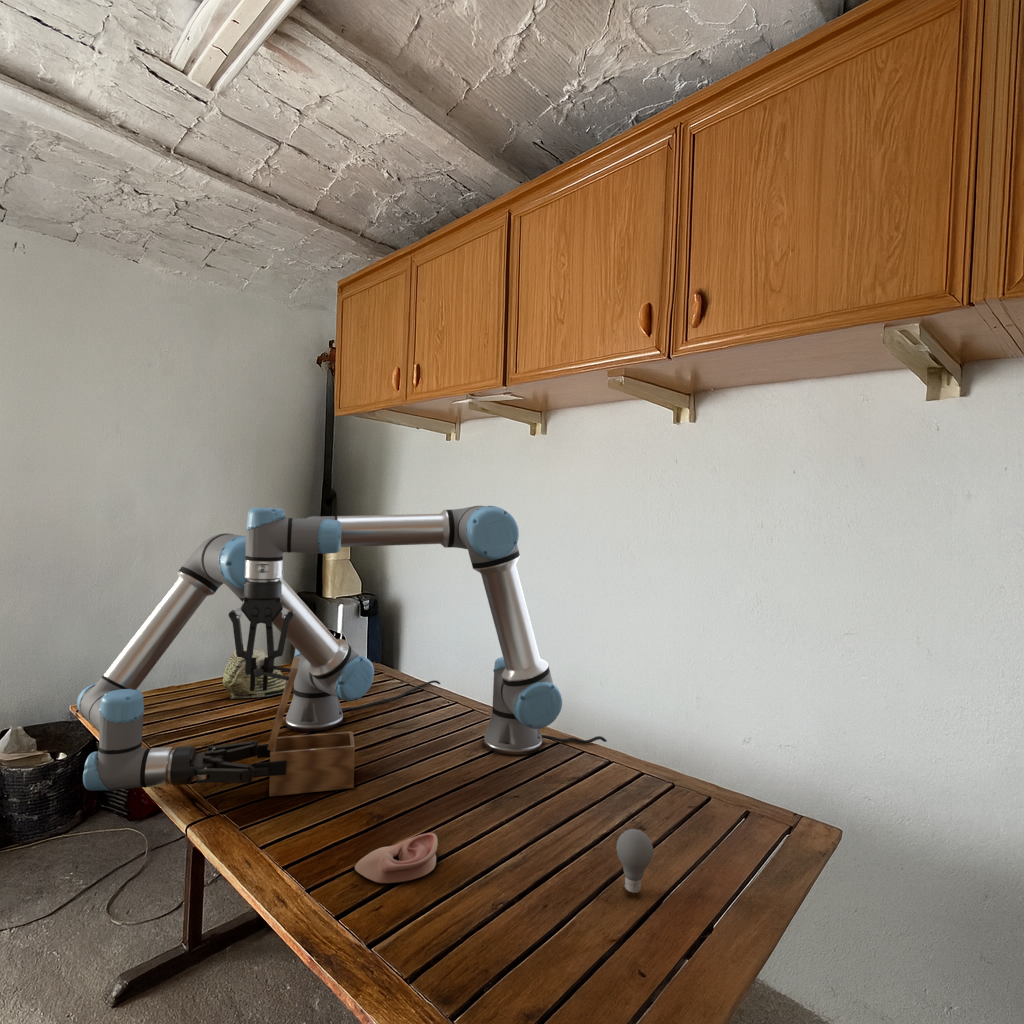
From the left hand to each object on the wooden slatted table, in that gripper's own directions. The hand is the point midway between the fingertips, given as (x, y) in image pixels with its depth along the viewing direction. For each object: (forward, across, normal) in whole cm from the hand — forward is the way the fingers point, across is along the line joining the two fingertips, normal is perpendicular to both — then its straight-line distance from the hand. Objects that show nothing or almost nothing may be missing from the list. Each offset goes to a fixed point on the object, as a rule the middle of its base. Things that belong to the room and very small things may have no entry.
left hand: (287, 758), depth 138 cm
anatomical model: (+20, +35, -6) cm, 41 cm away
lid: (-1, 0, +12) cm, 12 cm away
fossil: (-13, -66, -6) cm, 68 cm away
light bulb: (+57, +51, -6) cm, 77 cm away
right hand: (-6, 0, +16) cm, 17 cm away
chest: (+5, 0, -6) cm, 8 cm away
